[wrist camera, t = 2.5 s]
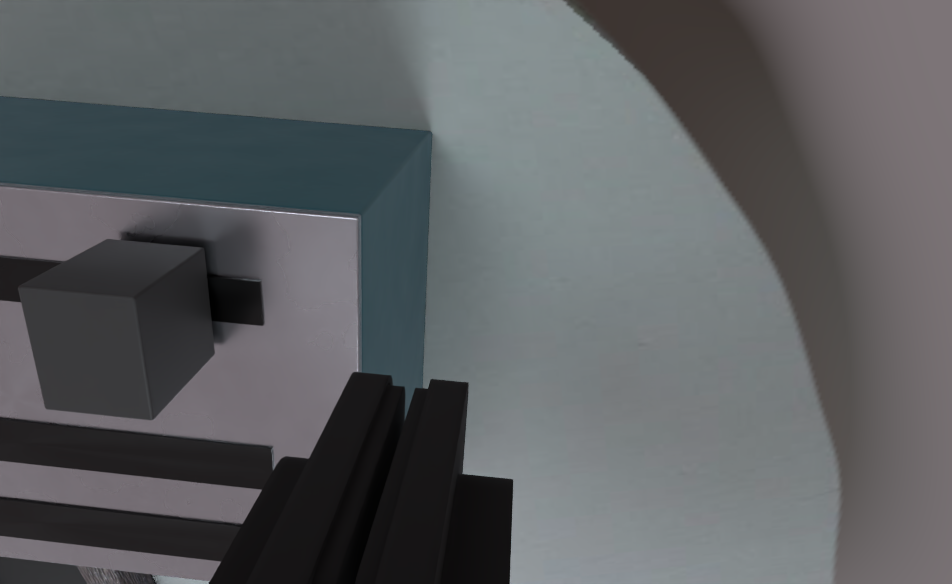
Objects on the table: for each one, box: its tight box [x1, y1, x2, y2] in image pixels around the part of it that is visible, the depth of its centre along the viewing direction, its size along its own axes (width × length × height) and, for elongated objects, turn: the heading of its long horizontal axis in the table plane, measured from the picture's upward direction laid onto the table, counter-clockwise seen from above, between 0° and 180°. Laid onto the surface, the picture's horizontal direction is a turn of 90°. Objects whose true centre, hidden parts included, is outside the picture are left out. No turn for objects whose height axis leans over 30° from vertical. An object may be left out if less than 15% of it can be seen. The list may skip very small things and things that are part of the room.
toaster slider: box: [18, 239, 215, 420], centre depth 12 cm, size 2×2×2 cm
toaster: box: [0, 96, 432, 581], centre depth 20 cm, size 10×16×10 cm, turn 86°
